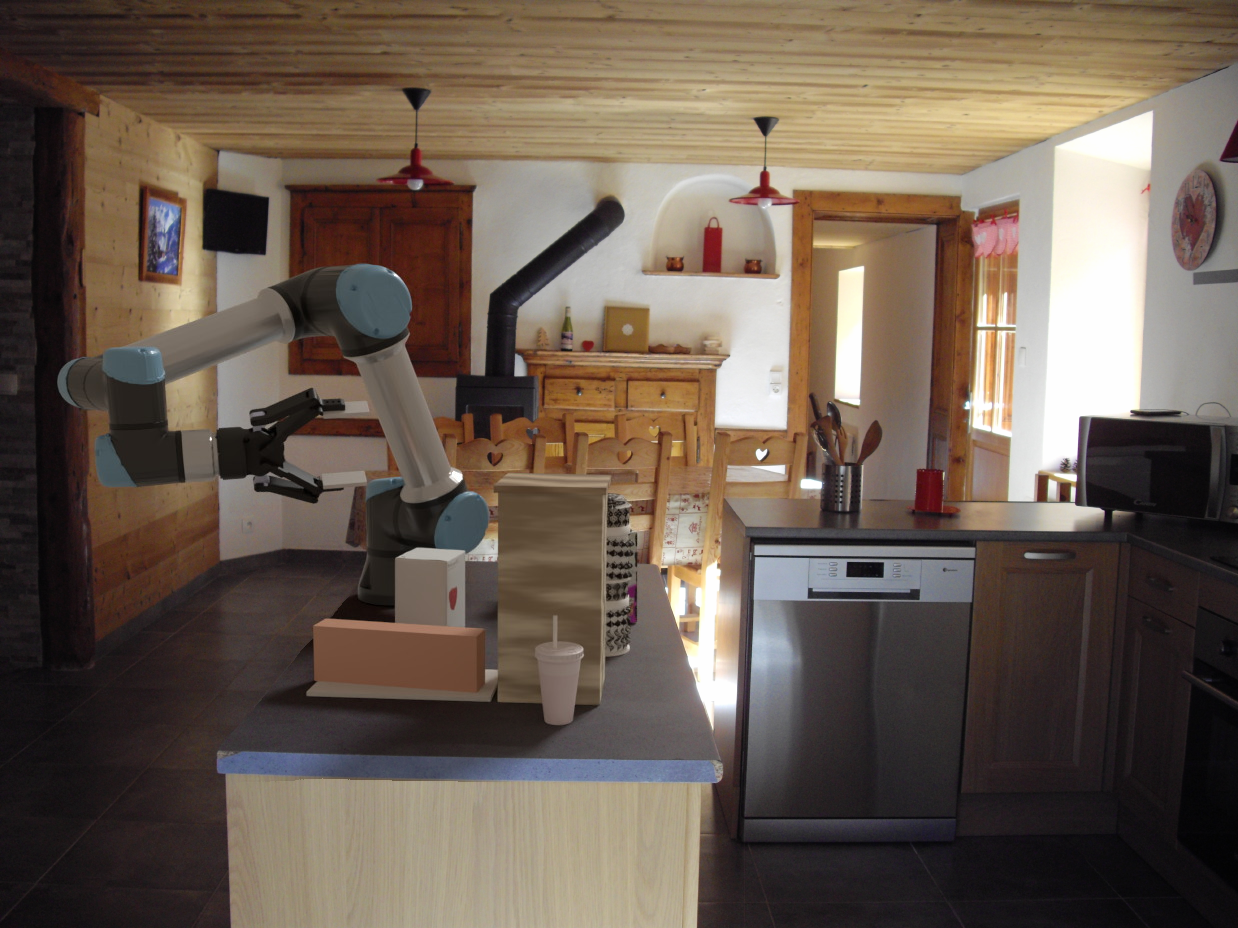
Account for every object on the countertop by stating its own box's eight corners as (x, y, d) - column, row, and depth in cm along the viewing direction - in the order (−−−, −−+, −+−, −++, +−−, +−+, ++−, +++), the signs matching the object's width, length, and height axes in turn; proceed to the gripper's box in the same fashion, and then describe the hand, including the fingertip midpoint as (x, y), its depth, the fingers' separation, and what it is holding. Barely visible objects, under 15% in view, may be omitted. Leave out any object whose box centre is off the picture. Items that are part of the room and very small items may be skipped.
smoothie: (534, 711, 140) (534, 609, 138) (582, 710, 140) (583, 608, 139) (534, 729, 133) (534, 622, 132) (584, 728, 134) (585, 621, 132)
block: (326, 671, 153) (325, 618, 152) (485, 683, 149) (485, 628, 148) (314, 680, 149) (313, 625, 148) (476, 692, 145) (476, 636, 144)
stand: (507, 672, 156) (508, 472, 152) (608, 675, 155) (611, 474, 151) (493, 702, 143) (493, 485, 139) (603, 706, 142) (606, 487, 138)
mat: (333, 668, 156) (333, 664, 156) (503, 673, 155) (503, 669, 155) (306, 695, 144) (306, 691, 144) (490, 701, 143) (490, 697, 143)
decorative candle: (570, 641, 172) (572, 491, 169) (625, 639, 174) (628, 490, 171) (580, 658, 163) (582, 499, 160) (638, 655, 165) (641, 499, 162)
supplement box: (447, 654, 164) (447, 560, 162) (393, 649, 166) (392, 557, 164) (467, 638, 173) (466, 549, 171) (416, 634, 175) (415, 546, 173)
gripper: (209, 368, 145) (365, 361, 152) (220, 500, 160) (361, 489, 168) (211, 400, 140) (373, 392, 147) (222, 534, 155) (368, 521, 163)
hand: (367, 444), depth 158 cm, fingers open, 13 cm apart
